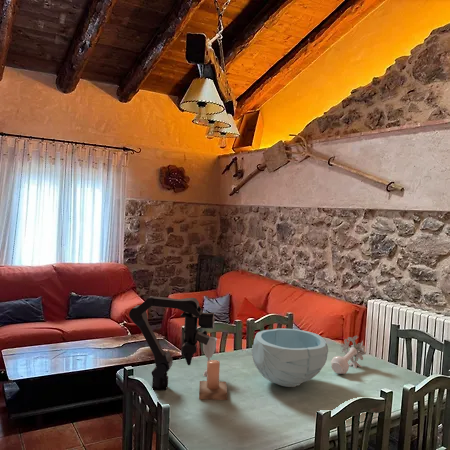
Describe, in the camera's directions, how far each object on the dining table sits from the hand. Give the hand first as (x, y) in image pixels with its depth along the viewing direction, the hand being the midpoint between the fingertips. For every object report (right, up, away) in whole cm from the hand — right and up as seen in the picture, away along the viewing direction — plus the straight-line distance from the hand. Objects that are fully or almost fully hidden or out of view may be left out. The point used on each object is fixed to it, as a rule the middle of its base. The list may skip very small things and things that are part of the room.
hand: (189, 361), depth 193 cm
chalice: (+8, -13, +19) cm, 24 cm away
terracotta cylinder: (+11, -11, -2) cm, 15 cm away
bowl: (+46, -15, +13) cm, 50 cm away
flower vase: (+81, -16, +35) cm, 90 cm away
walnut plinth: (+10, -14, -2) cm, 17 cm away
